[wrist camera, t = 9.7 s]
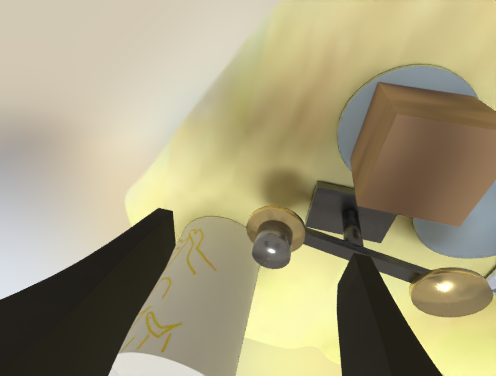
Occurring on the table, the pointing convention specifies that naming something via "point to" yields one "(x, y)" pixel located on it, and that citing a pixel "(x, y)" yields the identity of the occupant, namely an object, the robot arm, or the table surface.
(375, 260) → the balance
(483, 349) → the table surface
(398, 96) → the block
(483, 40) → the table surface
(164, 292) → the cup
